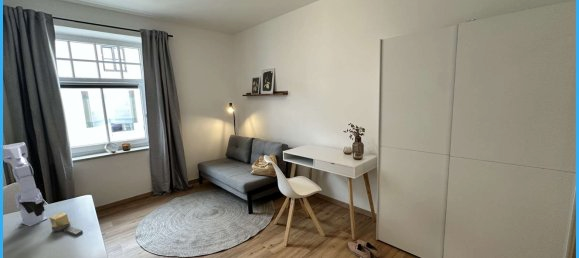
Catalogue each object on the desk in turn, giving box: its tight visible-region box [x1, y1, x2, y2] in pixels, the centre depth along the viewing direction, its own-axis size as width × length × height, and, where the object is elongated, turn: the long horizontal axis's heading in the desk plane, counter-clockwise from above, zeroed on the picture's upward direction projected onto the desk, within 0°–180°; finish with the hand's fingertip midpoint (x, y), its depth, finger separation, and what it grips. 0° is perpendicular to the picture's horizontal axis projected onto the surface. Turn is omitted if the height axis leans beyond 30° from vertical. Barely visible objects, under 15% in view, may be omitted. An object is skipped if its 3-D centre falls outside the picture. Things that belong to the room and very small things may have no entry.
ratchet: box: [51, 221, 84, 237], centre depth 130 cm, size 19×7×4 cm, turn 67°
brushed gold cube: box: [49, 212, 70, 229], centre depth 132 cm, size 5×5×5 cm
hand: (35, 213), depth 129 cm, fingers open, 7 cm apart
